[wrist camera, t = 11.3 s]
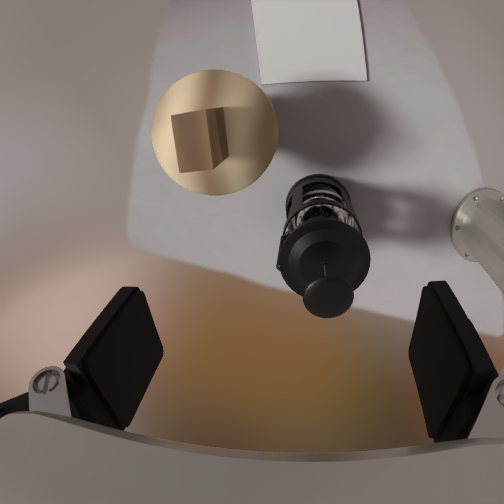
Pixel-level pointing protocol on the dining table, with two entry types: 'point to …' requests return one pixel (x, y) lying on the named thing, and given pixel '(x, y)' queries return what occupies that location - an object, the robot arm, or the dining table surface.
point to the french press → (322, 247)
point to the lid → (214, 132)
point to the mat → (309, 40)
